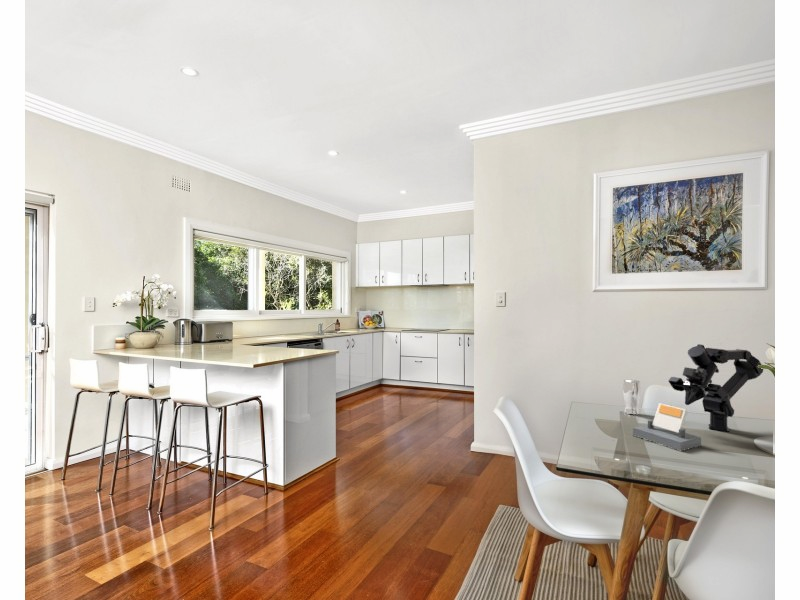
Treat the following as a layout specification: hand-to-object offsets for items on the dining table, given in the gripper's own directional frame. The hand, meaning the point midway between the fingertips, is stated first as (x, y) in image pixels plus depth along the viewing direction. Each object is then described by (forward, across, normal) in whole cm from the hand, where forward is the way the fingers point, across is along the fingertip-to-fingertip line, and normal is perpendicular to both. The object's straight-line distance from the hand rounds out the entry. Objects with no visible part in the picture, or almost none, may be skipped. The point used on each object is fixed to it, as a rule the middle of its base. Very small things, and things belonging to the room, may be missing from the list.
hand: (686, 404), depth 166 cm
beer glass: (+2, -30, +16) cm, 34 cm away
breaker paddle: (+15, 0, -3) cm, 15 cm away
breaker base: (+18, 0, 0) cm, 18 cm away
